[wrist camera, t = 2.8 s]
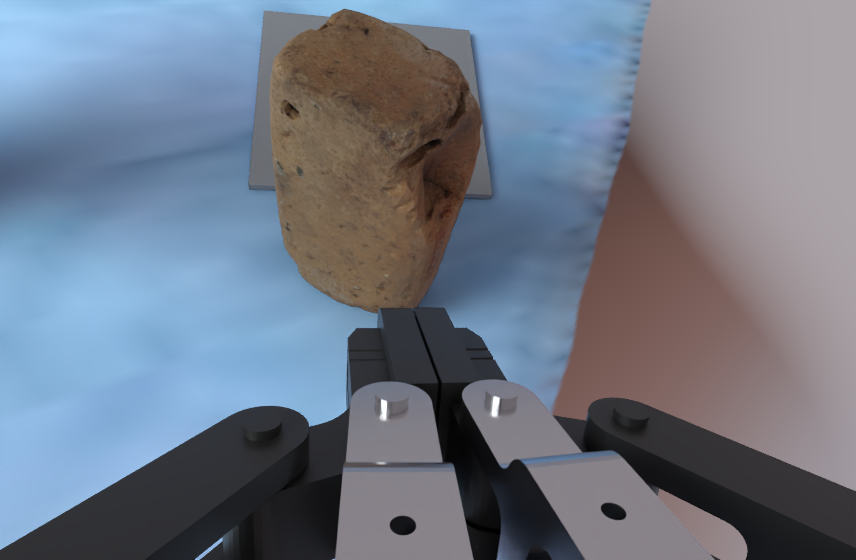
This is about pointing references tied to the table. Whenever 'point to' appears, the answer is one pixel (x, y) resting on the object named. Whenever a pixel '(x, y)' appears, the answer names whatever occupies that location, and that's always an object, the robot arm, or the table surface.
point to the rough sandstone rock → (369, 158)
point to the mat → (290, 25)
